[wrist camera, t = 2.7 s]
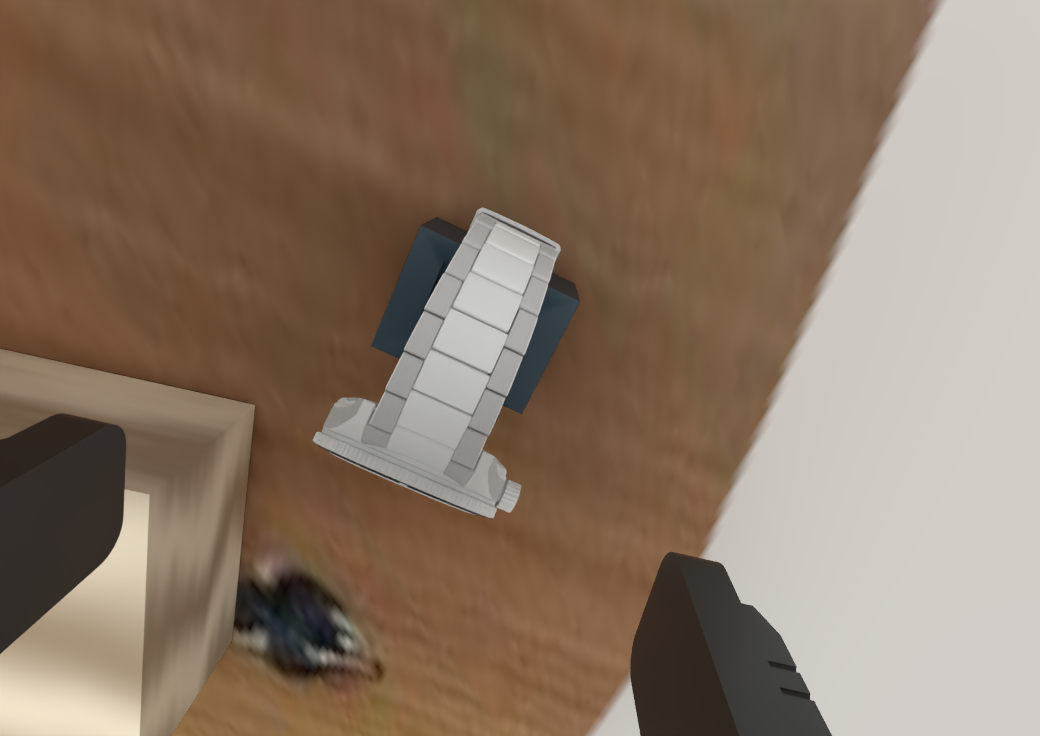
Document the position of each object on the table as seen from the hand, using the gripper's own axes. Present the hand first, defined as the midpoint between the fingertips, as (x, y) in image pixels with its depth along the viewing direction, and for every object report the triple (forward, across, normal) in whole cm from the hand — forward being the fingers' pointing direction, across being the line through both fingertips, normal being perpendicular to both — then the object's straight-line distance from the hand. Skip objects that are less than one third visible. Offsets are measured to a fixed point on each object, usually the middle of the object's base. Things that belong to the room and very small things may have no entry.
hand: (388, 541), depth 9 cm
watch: (+15, 0, 0) cm, 15 cm away
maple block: (+15, +14, +12) cm, 23 cm away
